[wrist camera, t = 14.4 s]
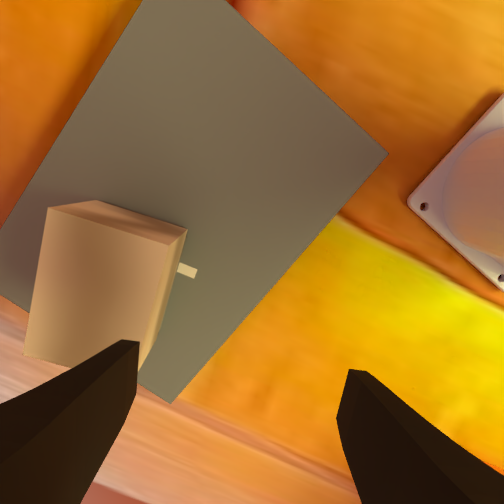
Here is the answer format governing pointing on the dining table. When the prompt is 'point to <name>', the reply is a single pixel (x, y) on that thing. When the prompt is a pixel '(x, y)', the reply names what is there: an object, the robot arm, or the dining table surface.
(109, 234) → the block
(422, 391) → the dining table surface
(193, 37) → the board
